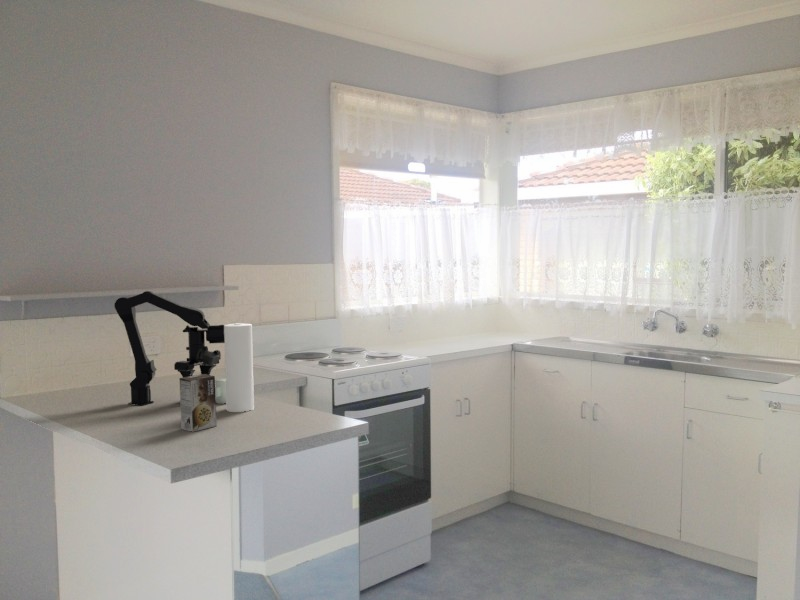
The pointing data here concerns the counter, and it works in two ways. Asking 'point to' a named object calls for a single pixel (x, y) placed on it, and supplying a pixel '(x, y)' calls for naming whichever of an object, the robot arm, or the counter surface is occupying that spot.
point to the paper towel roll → (239, 367)
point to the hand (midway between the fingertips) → (197, 386)
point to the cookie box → (198, 402)
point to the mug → (220, 391)
